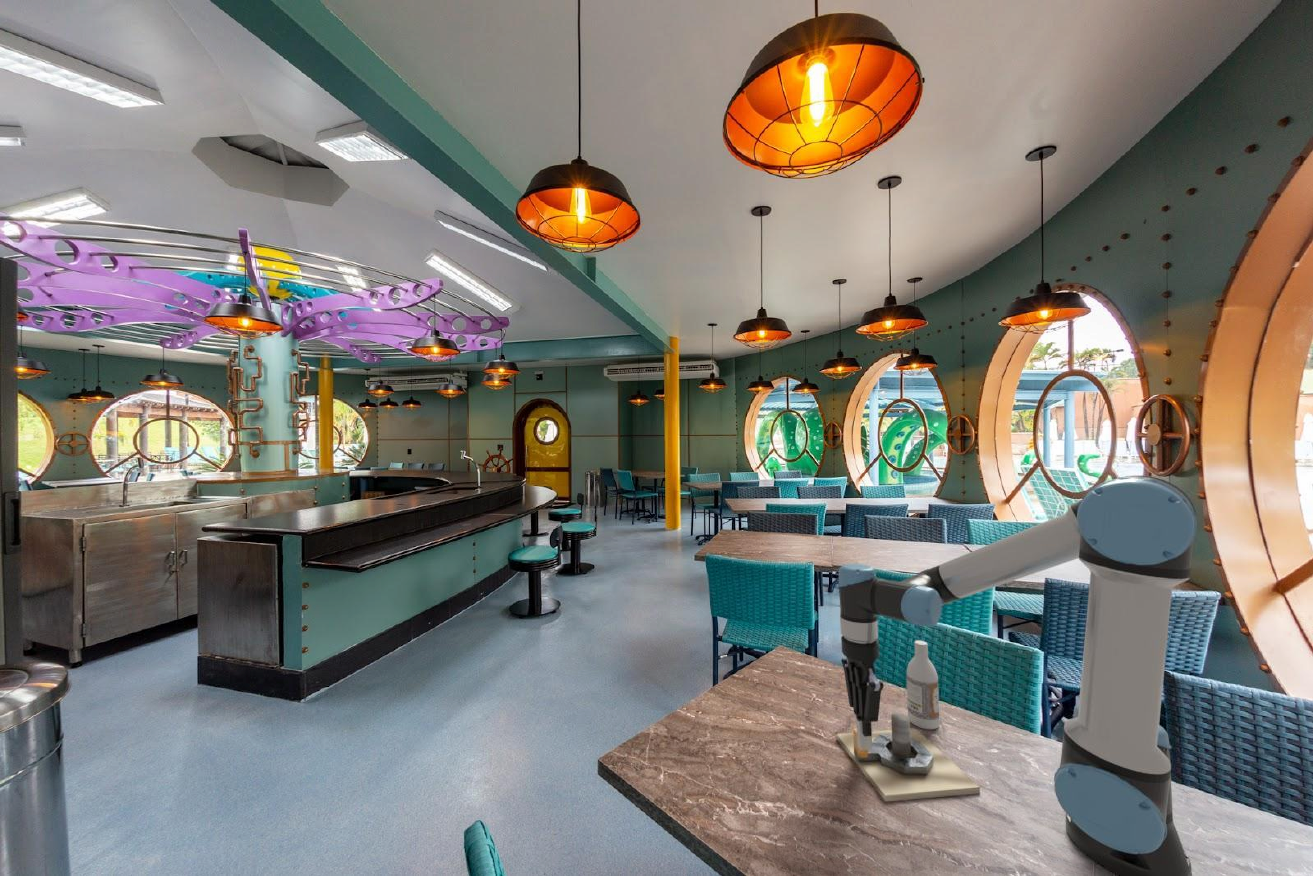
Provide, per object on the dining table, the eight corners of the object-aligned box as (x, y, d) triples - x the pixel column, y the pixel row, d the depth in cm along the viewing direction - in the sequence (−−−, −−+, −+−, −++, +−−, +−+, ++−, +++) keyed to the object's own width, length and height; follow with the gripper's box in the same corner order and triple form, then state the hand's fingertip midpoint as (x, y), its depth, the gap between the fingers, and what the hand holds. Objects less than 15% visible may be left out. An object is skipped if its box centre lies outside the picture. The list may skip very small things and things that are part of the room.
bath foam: (934, 734, 112) (932, 650, 113) (904, 722, 117) (901, 642, 118) (943, 722, 117) (940, 642, 118) (913, 711, 122) (910, 635, 123)
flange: (913, 740, 108) (912, 716, 108) (942, 774, 96) (941, 746, 97) (846, 741, 108) (845, 717, 108) (867, 775, 96) (867, 747, 97)
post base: (979, 793, 93) (978, 742, 93) (885, 801, 91) (883, 750, 91) (915, 733, 113) (913, 691, 113) (836, 739, 111) (835, 696, 111)
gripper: (893, 647, 95) (899, 765, 94) (859, 625, 108) (864, 729, 107) (859, 650, 95) (864, 769, 93) (829, 627, 107) (833, 732, 106)
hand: (864, 748), depth 100 cm, fingers closed
